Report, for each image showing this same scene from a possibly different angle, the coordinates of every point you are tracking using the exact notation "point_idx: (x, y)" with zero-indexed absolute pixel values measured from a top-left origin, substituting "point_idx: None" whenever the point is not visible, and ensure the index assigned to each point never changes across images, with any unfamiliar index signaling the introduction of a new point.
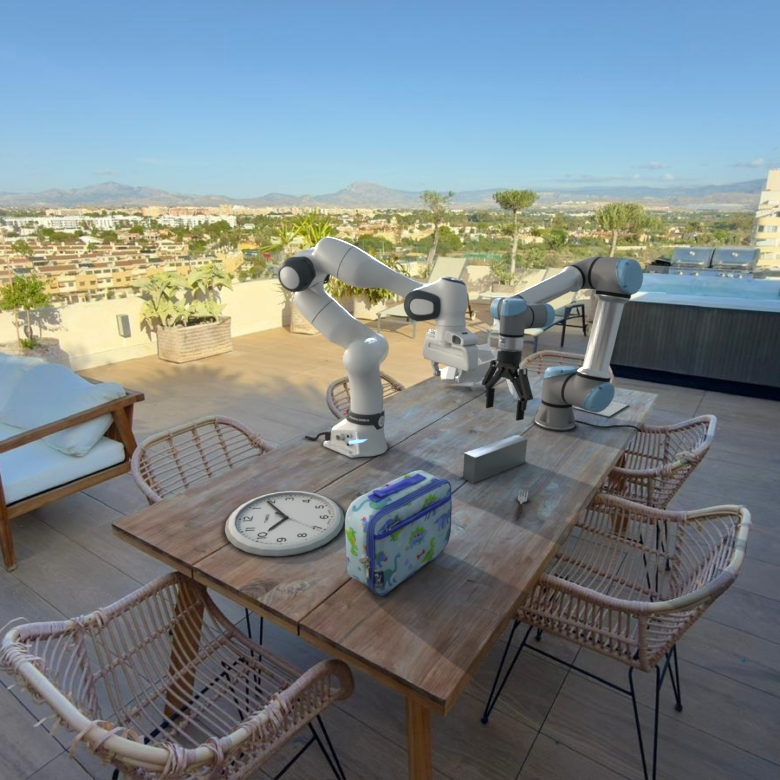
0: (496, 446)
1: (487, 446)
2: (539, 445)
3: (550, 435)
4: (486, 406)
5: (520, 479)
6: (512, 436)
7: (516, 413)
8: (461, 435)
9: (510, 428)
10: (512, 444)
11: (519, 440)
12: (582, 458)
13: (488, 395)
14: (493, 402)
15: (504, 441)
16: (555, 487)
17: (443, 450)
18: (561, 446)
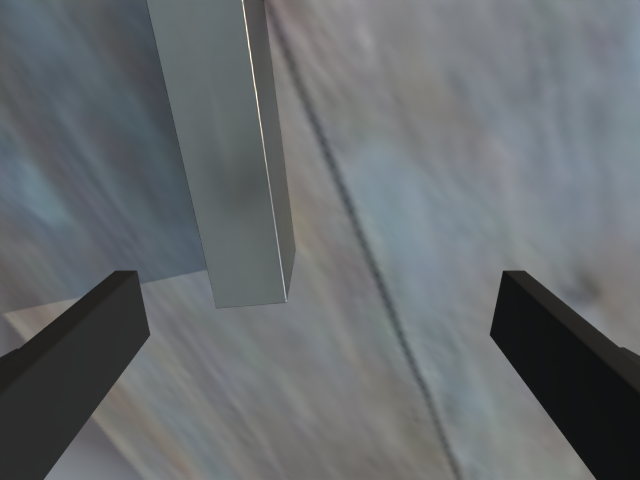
0: (201, 77)
1: (226, 20)
2: (330, 395)
3: (368, 471)
4: (523, 277)
5: (128, 128)
6: (278, 268)
7: (97, 304)
8: (593, 224)
9: (496, 418)
10: (190, 190)
11: (216, 261)
12: (184, 426)
13: (595, 357)
14: (511, 362)
15: (242, 179)
16: (26, 196)
17: (542, 23)
18: (285, 440)
